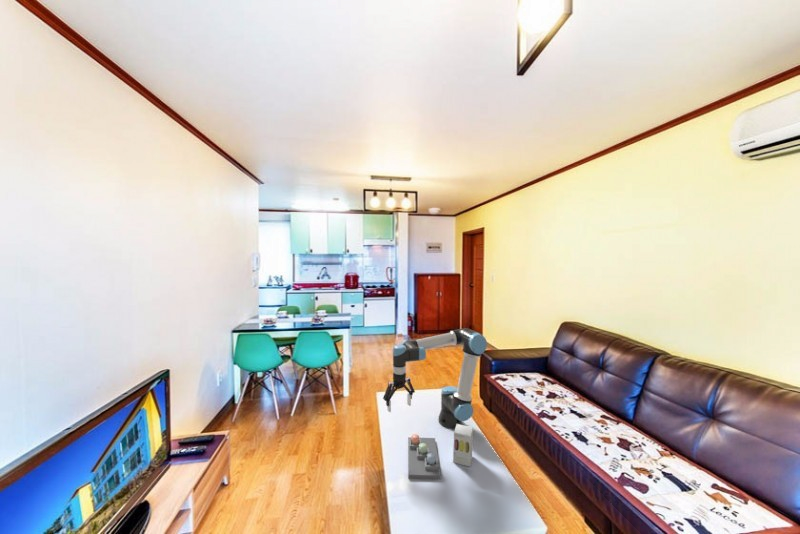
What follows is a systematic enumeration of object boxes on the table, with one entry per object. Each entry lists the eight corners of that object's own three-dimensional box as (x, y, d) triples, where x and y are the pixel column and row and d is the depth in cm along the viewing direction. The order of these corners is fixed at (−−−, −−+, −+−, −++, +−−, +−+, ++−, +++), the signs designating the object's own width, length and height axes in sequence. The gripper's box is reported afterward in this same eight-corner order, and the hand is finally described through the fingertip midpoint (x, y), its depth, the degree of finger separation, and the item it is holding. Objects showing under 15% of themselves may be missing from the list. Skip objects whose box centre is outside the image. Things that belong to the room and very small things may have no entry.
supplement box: (452, 462, 160) (453, 432, 159) (455, 451, 168) (455, 423, 167) (470, 467, 156) (471, 436, 155) (472, 455, 165) (473, 426, 164)
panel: (434, 441, 178) (434, 435, 177) (440, 479, 148) (440, 472, 147) (408, 440, 178) (408, 434, 178) (408, 478, 148) (408, 471, 148)
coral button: (418, 439, 173) (418, 434, 173) (419, 444, 168) (419, 438, 168) (411, 439, 173) (411, 433, 173) (411, 444, 169) (411, 438, 168)
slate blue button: (435, 459, 157) (435, 452, 156) (435, 465, 152) (435, 458, 152) (426, 459, 157) (426, 452, 157) (427, 465, 152) (427, 458, 152)
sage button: (426, 449, 165) (426, 443, 165) (427, 454, 160) (427, 448, 160) (418, 448, 165) (418, 442, 165) (419, 454, 160) (419, 448, 160)
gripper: (413, 366, 181) (413, 399, 182) (377, 374, 168) (377, 410, 169) (420, 370, 175) (420, 405, 176) (383, 379, 162) (383, 417, 163)
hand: (399, 408), depth 172 cm, fingers open, 13 cm apart
